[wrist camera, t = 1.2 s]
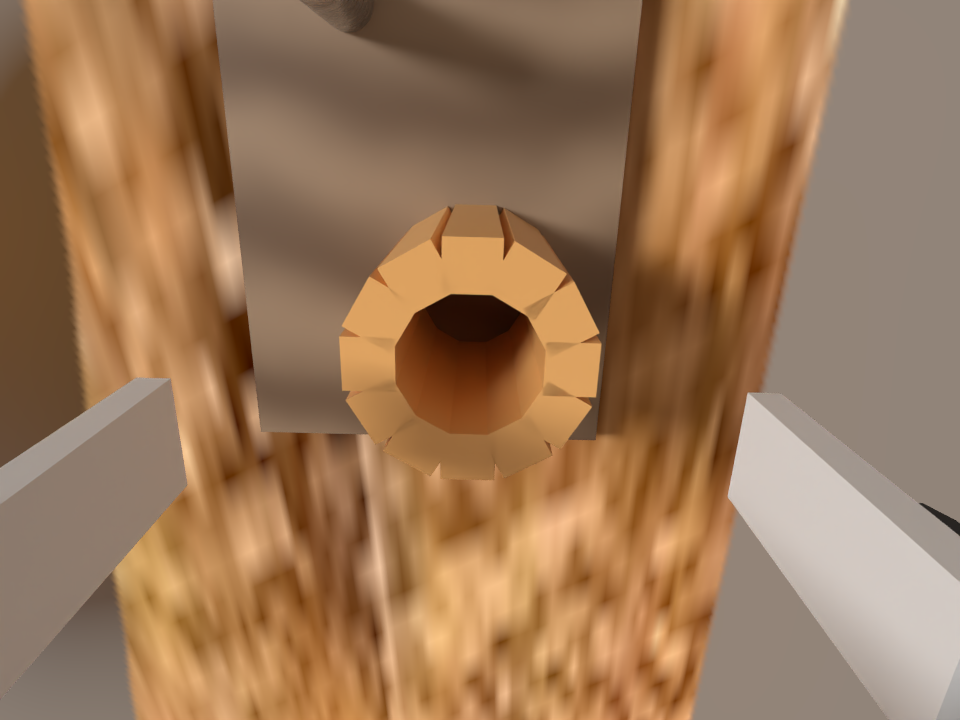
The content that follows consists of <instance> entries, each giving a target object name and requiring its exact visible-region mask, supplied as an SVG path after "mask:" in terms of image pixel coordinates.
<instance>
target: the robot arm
mask: <svg viewBox="0 0 960 720" xmlns="http://www.w3.org/2000/svg"><path fill="white" fill-rule="evenodd" d="M186 486H187V479H186V473H185V467H184V460H183V454H182V448H181V441H180V435H179V429H178V422H177V416H176V410H175V404H174V397H173V391H172V385H171V379H170V378H135V379H134V380H132V381H131V382H129V383H128V384H126V385H125V386H123V387H122V388H120V389H119V390H117V391H116V392H114V393H113V394H111V395H110V396H108V397H107V398H105V399H104V400H102V401H101V402H99V403H97V404H96V405H94V406H93V407H91V408H90V409H88V410H87V411H85V412H84V413H82V414H81V415H79V416H78V417H77V418H75V419H73V420H72V421H71V422H69V423H67V424H66V425H64V426H63V427H61V428H60V429H58V430H57V431H55V432H54V433H52V434H51V435H49V436H48V437H46V438H45V439H43V440H42V441H40V442H39V443H38V444H36V445H34V446H33V447H31V448H30V449H28V450H27V451H25V452H24V453H22V454H21V455H19V456H18V457H16V458H15V459H13V460H12V461H10V462H9V463H7V464H6V465H4V466H3V467H1V468H0V700H1V698H2V697H3V696H4V695H5V694H6V693H7V691H8V690H9V689H10V688H11V687H12V686H13V685H14V683H15V682H16V681H17V680H18V679H19V678H20V676H21V675H22V674H23V673H24V672H25V671H26V670H27V669H28V667H29V666H30V665H31V664H32V663H33V662H34V660H35V659H36V658H37V657H38V656H39V655H40V653H41V652H42V651H43V650H44V649H45V648H46V647H47V646H48V644H49V643H50V642H51V641H52V640H53V638H54V637H55V636H56V635H57V634H58V633H59V632H60V631H61V629H62V628H63V627H64V626H65V625H66V624H67V623H68V621H69V620H70V619H71V618H72V617H73V616H74V615H75V613H76V612H77V611H78V610H79V609H80V608H81V606H82V605H83V604H84V603H85V602H86V601H87V600H88V598H89V597H90V596H91V595H92V594H93V593H94V592H95V590H96V589H97V588H98V587H99V586H100V585H101V584H102V582H103V581H104V580H105V579H106V578H107V577H108V575H109V574H110V573H111V572H112V571H113V570H114V569H115V567H116V566H117V565H118V564H119V563H120V562H121V561H122V559H123V558H124V557H125V556H126V555H127V554H128V552H129V551H130V550H131V549H132V548H133V547H134V546H135V544H136V543H137V542H138V541H139V540H140V539H141V538H142V536H143V535H144V534H145V533H146V532H147V531H148V530H149V528H150V527H151V526H152V525H153V524H154V523H155V521H156V520H157V519H158V518H159V517H160V516H161V515H162V513H163V512H164V511H165V510H166V509H167V508H168V507H169V505H170V504H171V503H172V502H173V501H174V500H175V498H176V497H177V496H178V495H179V494H180V493H181V492H182V490H183V489H184V488H185V487H186ZM728 498H729V499H730V501H731V502H732V503H733V505H734V506H735V508H736V509H737V510H738V512H739V513H740V515H741V516H742V517H743V519H744V520H745V521H746V523H747V524H748V526H749V527H750V528H751V530H752V531H753V532H754V534H755V535H756V537H757V538H758V540H759V541H760V542H761V544H762V545H763V546H764V548H765V549H766V550H767V552H768V553H769V554H770V556H771V557H772V559H773V560H774V562H775V563H776V564H777V566H778V567H779V568H780V570H781V571H782V573H783V574H784V576H785V577H786V578H787V580H788V581H789V582H790V584H791V585H792V587H793V588H794V589H795V591H796V592H797V594H798V595H799V596H800V598H801V599H802V600H803V602H804V603H805V605H806V606H807V607H808V609H809V610H810V611H811V613H812V614H813V616H814V617H815V618H816V620H817V621H818V622H819V624H820V625H821V627H822V628H823V630H824V631H825V632H826V634H827V635H828V636H829V638H830V639H831V641H832V642H833V643H834V645H835V646H836V648H837V649H838V650H839V652H840V653H841V654H842V656H843V657H844V658H845V660H846V661H847V663H848V664H849V666H850V667H851V668H852V670H853V671H854V672H855V674H856V675H857V677H858V678H859V679H860V681H861V682H862V683H863V685H864V686H865V687H866V689H867V690H868V692H869V693H870V695H871V696H872V697H873V699H874V700H875V701H876V703H877V704H878V705H879V707H880V708H881V710H882V711H883V713H884V714H885V715H886V717H887V718H888V720H960V523H958V522H957V521H956V520H954V519H952V518H950V517H948V516H946V515H944V514H942V513H941V512H938V511H937V510H935V509H933V508H931V507H929V506H927V505H925V504H923V503H918V502H916V501H915V500H914V499H913V498H911V497H910V496H909V495H908V494H906V493H905V492H904V491H903V490H901V489H900V488H899V487H898V486H896V485H895V484H894V483H893V482H891V481H890V480H889V479H888V478H886V477H885V476H884V475H883V474H881V473H880V472H879V471H878V470H876V469H875V468H874V467H873V466H871V465H870V464H869V463H868V462H866V461H865V460H864V459H863V458H861V457H860V456H859V455H858V454H856V453H855V452H854V451H853V450H851V449H850V448H849V447H848V446H846V445H845V444H844V443H843V442H841V441H840V440H839V439H838V438H836V437H835V436H834V435H833V434H831V433H830V432H829V431H828V430H826V429H825V428H824V427H823V426H821V425H820V424H819V423H818V422H816V421H815V420H814V419H813V418H811V417H810V416H809V415H807V414H806V413H805V412H804V411H803V410H801V409H800V408H799V407H797V406H796V405H795V404H794V403H793V402H791V401H790V400H789V399H788V398H786V397H785V396H784V395H783V394H781V393H748V394H747V400H746V405H745V410H744V415H743V420H742V425H741V430H740V436H739V441H738V446H737V451H736V456H735V461H734V467H733V472H732V477H731V482H730V487H729V492H728Z"/></svg>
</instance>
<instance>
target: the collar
mask: <svg viewBox="0 0 960 720" xmlns="http://www.w3.org/2000/svg"><path fill="white" fill-rule="evenodd" d="M450 294H470V295H493V296H495V297H496V298H498V299H500V300H501V301H503V302H505V303H506V304H508V305H510V306H511V307H513V308H515V309H516V310H518V311H520V312H521V313H520V314H519V316H518V317H517V319H516V320H515V322H514V323H513V325H512V326H511V328H510V329H509V331H507V332H505V333H503V334H501V335H499V336H497V337H495V338H493V339H491V340H489V341H487V342H460V341H458V340H456V339H454V338H453V337H451V336H449V335H447V334H446V333H444V332H442V331H441V330H439V329H437V328H436V326H435V324H434V323H433V321H432V319H431V318H430V316H429V314H428V312H427V311H426V309H425V307H427V306H429V305H431V304H433V303H435V302H436V301H438V300H440V299H442V298H444V297H446V296H448V295H450ZM342 327H344V328H345V329H344V331H343V332H342V333H341V335H340V336H339V344H340V361H341V379H342V391H350V393H349V395H348V397H347V399H346V402H347V403H348V405H349V406H350V408H351V409H352V411H353V412H354V414H355V415H356V417H357V418H358V419H359V421H360V422H361V424H362V425H363V427H364V428H365V430H366V431H367V433H368V434H369V436H370V437H371V439H372V440H373V442H374V443H375V445H376V444H378V443H380V442H382V441H384V440H386V439H387V441H386V444H385V447H384V450H383V452H385V453H387V454H389V455H391V456H393V457H395V458H397V459H399V460H401V461H402V462H404V463H406V464H408V465H410V466H412V467H414V468H416V469H418V470H419V471H421V472H423V473H425V474H427V475H429V476H431V475H432V473H433V472H434V470H435V469H436V467H437V466H438V464H439V463H440V462H441V470H440V479H464V480H494V471H495V464H496V466H497V467H498V469H499V471H500V472H501V474H502V475H503V477H504V478H506V477H508V476H510V475H512V474H514V473H516V472H519V471H521V470H523V469H525V468H527V467H529V466H531V465H534V464H536V463H538V462H540V461H542V460H544V459H546V458H549V457H551V456H552V451H551V447H550V444H552V445H554V446H555V447H557V448H559V449H561V448H562V447H563V445H564V444H565V443H566V441H567V440H568V439H569V437H570V436H571V435H572V433H573V432H574V431H575V429H576V428H577V427H578V425H579V424H580V422H581V421H582V420H583V418H584V417H585V416H586V414H587V413H588V412H589V410H590V409H591V408H592V405H591V403H590V400H589V398H588V397H596V392H597V383H598V373H599V364H600V354H601V342H600V340H599V338H598V337H597V334H599V331H598V329H597V327H596V325H595V323H594V321H593V319H592V317H591V315H590V312H589V310H588V308H587V306H586V304H585V302H584V300H583V298H582V296H581V294H580V292H579V290H578V288H577V286H576V284H575V282H574V281H573V279H572V278H571V276H570V275H569V273H568V272H567V270H566V269H565V267H564V266H563V264H562V263H561V261H560V260H559V258H558V257H557V255H556V254H555V252H554V251H553V249H552V248H551V246H550V245H549V243H548V242H547V240H546V239H545V237H544V236H543V235H541V233H540V232H539V230H538V229H536V228H535V227H533V226H532V225H530V224H529V223H527V222H525V221H524V220H522V219H521V218H519V217H518V216H516V215H515V214H513V213H511V212H510V211H508V210H507V209H505V208H503V210H502V212H501V213H500V215H499V214H498V210H497V206H496V205H464V204H455V207H454V209H453V211H452V213H451V211H450V209H449V207H448V206H447V207H446V208H444V209H442V210H440V211H438V212H437V213H435V214H433V215H431V216H430V217H428V218H426V219H424V220H422V221H421V222H419V223H417V224H415V225H414V226H412V227H411V229H410V230H409V231H407V232H406V234H405V235H404V236H403V237H402V238H401V239H400V241H399V242H398V243H397V244H396V245H395V247H394V248H393V249H392V250H391V251H390V252H389V254H388V255H387V256H386V257H385V258H384V259H383V261H382V262H381V263H380V264H379V265H378V267H377V268H376V269H375V270H374V271H373V272H372V274H371V275H370V276H369V278H368V279H367V281H366V283H365V285H364V287H363V288H362V290H361V292H360V294H359V295H358V297H357V299H356V301H355V303H354V304H353V306H352V308H351V310H350V312H349V313H348V315H347V317H346V319H345V321H344V322H343V324H342Z"/></svg>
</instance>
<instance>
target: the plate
mask: <svg viewBox="0 0 960 720" xmlns="http://www.w3.org/2000/svg"><path fill="white" fill-rule="evenodd" d="M373 1H374V8H373V13H372V16H371V18H370V20H369V22H368V23H367V24H366V25H365V26H364V27H363V28H362V29H360V30H358V31H356V32H350V33H347V32H342V31H339V30H337V29H335V28H334V27H333V26H331V25H330V24H329V23H327V22H326V21H325V20H324V19H322V18H321V17H320V16H318V15H317V14H316V13H315V12H313V11H312V10H311V9H310V8H308V7H307V6H306V5H304V4H303V3H302V2H301V1H299V0H213V8H214V17H215V26H216V35H217V44H218V52H219V61H220V70H221V79H222V88H223V97H224V106H225V115H226V124H227V133H228V142H229V150H230V159H231V168H232V177H233V186H234V195H235V204H236V213H237V222H238V231H239V240H240V248H241V257H242V266H243V275H244V284H245V293H246V302H247V311H248V320H249V329H250V338H251V347H252V355H253V364H254V373H255V382H256V391H257V400H258V409H259V418H260V427H261V432H297V433H336V434H368V433H367V431H366V430H365V428H364V427H363V425H362V424H361V422H360V421H359V419H358V418H357V417H356V415H355V414H354V412H353V411H352V409H351V408H350V406H349V405H348V403H347V402H346V399H347V397H348V395H349V393H350V391H342V379H341V361H340V344H339V336H340V335H341V333H342V332H343V331H344V329H345V328H344V327H342V324H343V322H344V321H345V319H346V317H347V315H348V313H349V312H350V310H351V308H352V306H353V304H354V303H355V301H356V299H357V297H358V295H359V294H360V292H361V290H362V288H363V287H364V285H365V283H366V281H367V279H368V278H369V276H370V275H371V274H372V272H373V271H374V270H375V269H376V268H377V267H378V265H379V264H380V263H381V262H382V261H383V259H384V258H385V257H386V256H387V255H388V254H389V252H390V251H391V250H392V249H393V248H394V247H395V245H396V244H397V243H398V242H399V241H400V239H401V238H402V237H403V236H404V235H405V234H406V232H407V231H409V230H410V229H411V227H412V226H414V225H415V224H417V223H419V222H421V221H422V220H424V219H426V218H428V217H430V216H431V215H433V214H435V213H437V212H438V211H440V210H442V209H444V208H446V207H447V206H448V207H449V209H450V211H451V213H452V211H453V209H454V207H455V204H464V205H496V206H497V210H498V214H499V215H500V213H501V212H502V210H503V208H505V209H507V210H508V211H510V212H511V213H513V214H515V215H516V216H518V217H519V218H521V219H522V220H524V221H525V222H527V223H529V224H530V225H532V226H533V227H535V228H536V229H538V230H539V232H540V233H541V235H543V236H544V237H545V239H546V240H547V242H548V243H549V245H550V246H551V248H552V249H553V251H554V252H555V254H556V255H557V257H558V258H559V260H560V261H561V263H562V264H563V266H564V267H565V269H566V270H567V272H568V273H569V275H570V276H571V278H572V279H573V281H574V282H575V284H576V286H577V288H578V290H579V292H580V294H581V296H582V298H583V300H584V302H585V304H586V306H587V308H588V310H589V312H590V315H591V317H592V319H593V321H594V323H595V325H596V327H597V329H598V331H599V334H597V337H598V338H599V340H600V342H601V354H600V364H599V373H598V383H597V392H596V397H588V398H589V400H590V403H591V405H592V408H591V409H590V410H589V412H588V413H587V414H586V416H585V417H584V418H583V420H582V421H581V422H580V424H579V425H578V427H577V428H576V429H575V431H574V432H573V433H572V435H571V436H570V437H569V439H568V440H596V431H597V421H598V412H599V403H600V393H601V384H602V374H603V365H604V356H605V346H606V337H607V328H608V318H609V309H610V299H611V290H612V281H613V271H614V262H615V253H616V243H617V234H618V224H619V215H620V206H621V196H622V187H623V178H624V168H625V159H626V149H627V140H628V131H629V121H630V112H631V103H632V93H633V84H634V74H635V65H636V56H637V46H638V37H639V27H640V18H641V9H642V0H373ZM425 309H426V311H427V312H428V314H429V316H430V318H431V319H432V321H433V323H434V324H435V326H436V328H437V329H439V330H441V331H442V332H444V333H446V334H447V335H449V336H451V337H453V338H454V339H456V340H458V341H460V342H487V341H489V340H491V339H493V338H495V337H497V336H499V335H501V334H503V333H505V332H507V331H509V329H510V328H511V326H512V325H513V323H514V322H515V320H516V319H517V317H518V316H519V314H520V313H521V312H520V311H518V310H516V309H515V308H513V307H511V306H510V305H508V304H506V303H505V302H503V301H501V300H500V299H498V298H496V297H495V296H493V295H470V294H450V295H448V296H446V297H444V298H442V299H440V300H438V301H436V302H435V303H433V304H431V305H429V306H427V307H425Z"/></svg>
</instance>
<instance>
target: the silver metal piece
mask: <svg viewBox="0 0 960 720" xmlns="http://www.w3.org/2000/svg"><path fill="white" fill-rule="evenodd" d="M299 1H301V2H302V3H303V4H304V5H306V6H307V7H308V8H310V9H311V10H312V11H313V12H315V13H316V14H317V15H318V16H320V17H321V18H322V19H324V20H325V21H326V22H327V23H329V24H330V25H331V26H333V27H334V28H335V29H337V30H339V31H342V32H347V33H350V32H356V31H358V30H360V29H362V28H363V27H364V26H365V25H366V24H367V23H368V22H369V20H370V18H371V16H372V13H373V8H374V1H373V0H299Z"/></svg>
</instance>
